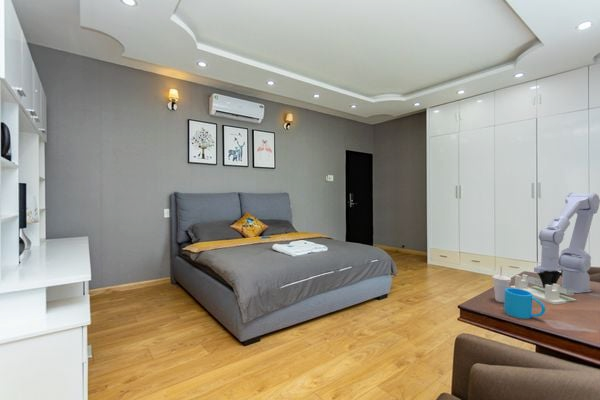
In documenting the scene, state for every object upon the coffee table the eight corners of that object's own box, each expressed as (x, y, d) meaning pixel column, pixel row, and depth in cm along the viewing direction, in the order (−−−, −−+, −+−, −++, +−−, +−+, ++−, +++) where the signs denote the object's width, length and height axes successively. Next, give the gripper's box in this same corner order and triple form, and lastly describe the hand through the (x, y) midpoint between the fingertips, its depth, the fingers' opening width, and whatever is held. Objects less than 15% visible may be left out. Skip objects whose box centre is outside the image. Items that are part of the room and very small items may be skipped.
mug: (500, 312, 109) (501, 291, 108) (508, 307, 114) (509, 286, 113) (541, 324, 99) (542, 301, 99) (548, 318, 104) (549, 295, 104)
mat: (535, 286, 137) (535, 285, 137) (576, 300, 120) (576, 299, 120) (523, 287, 135) (523, 287, 135) (563, 302, 119) (563, 301, 119)
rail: (530, 281, 137) (530, 276, 137) (574, 295, 119) (574, 289, 119) (526, 281, 136) (526, 276, 136) (569, 295, 119) (569, 290, 119)
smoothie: (504, 298, 123) (505, 265, 122) (514, 304, 117) (515, 269, 116) (488, 297, 124) (489, 264, 123) (497, 303, 117) (498, 269, 117)
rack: (520, 287, 136) (520, 273, 136) (565, 303, 118) (566, 286, 117) (509, 288, 135) (510, 273, 134) (554, 304, 116) (554, 287, 116)
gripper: (546, 260, 121) (545, 292, 122) (573, 258, 125) (571, 289, 125) (529, 256, 128) (528, 286, 129) (555, 254, 132) (554, 284, 132)
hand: (548, 287), depth 128 cm, fingers closed on rail, 2 cm apart
